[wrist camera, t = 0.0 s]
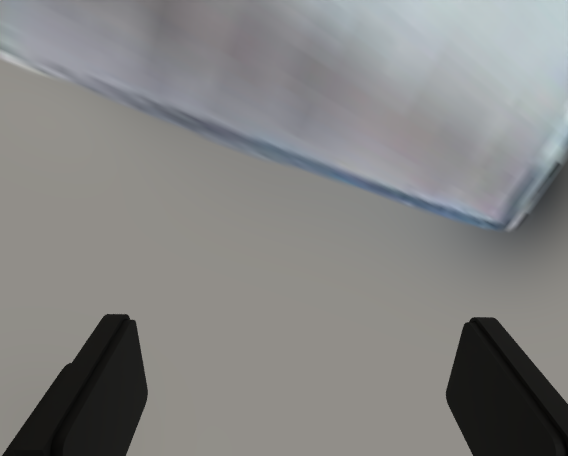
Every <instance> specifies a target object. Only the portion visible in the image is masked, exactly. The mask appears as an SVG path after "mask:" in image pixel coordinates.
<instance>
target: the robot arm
mask: <svg viewBox="0 0 568 456" xmlns="http://www.w3.org/2000/svg"><path fill="white" fill-rule="evenodd" d="M147 395H148V390H147V383H146V378H145V372H144V366H143V360H142V355H141V349H140V343H139V337H138V332H137V326H136V322H135V320H130V318H129V316H128V315H126V314H107V315H105V316H104V317H103V318H102V319H101V321H100V322H99V324H98V325H97V327H96V328H95V330H94V331H93V333H92V334H91V336H90V337H89V339H88V340H87V341H86V343H85V344H84V346H83V347H82V349H81V350H80V352H79V353H78V355H77V356H76V358H75V359H74V361H73V362H72V363H69V364H68V365H66V366H65V367H64V368H63V369H62V371H61V372H60V373H59V375H58V376H57V378H56V379H55V381H54V382H53V384H52V385H51V386H50V388H49V389H48V391H47V392H46V393H45V395H44V397H43V398H42V399H41V401H40V402H39V404H38V405H37V406H36V408H35V409H34V411H33V412H32V414H31V415H30V417H29V418H28V419H27V421H26V422H25V424H24V425H23V426H22V428H21V429H20V431H19V432H18V434H17V435H16V436H15V438H14V439H13V441H12V442H11V444H10V445H9V447H8V448H7V450H6V451H5V452H4V454H3V455H2V456H126V453H127V451H128V448H129V446H130V443H131V440H132V438H133V435H134V433H135V430H136V427H137V425H138V422H139V420H140V417H141V415H142V412H143V409H144V407H145V404H146V401H147ZM446 399H447V403H448V405H449V407H450V409H451V411H452V413H453V416H454V418H455V420H456V422H457V424H458V426H459V428H460V430H461V432H462V434H463V436H464V438H465V440H466V442H467V444H468V446H469V448H470V450H471V452H472V454H473V456H568V404H567V403H566V402H565V400H564V399H563V398H562V397H561V396H560V394H559V393H558V392H557V391H556V390H555V388H554V387H553V386H552V385H551V384H550V383H549V381H548V380H547V379H546V378H545V376H544V375H543V374H542V373H541V372H540V371H539V369H538V368H537V367H536V366H535V365H534V363H533V362H532V361H531V360H530V359H529V357H528V356H527V355H526V354H525V353H524V351H523V350H522V349H521V348H520V347H519V346H518V344H517V343H516V342H515V341H514V339H513V338H512V337H511V336H510V335H509V334H508V332H507V331H506V330H505V329H504V328H503V327H502V325H501V324H500V323H499V322H498V320H496V319H495V318H486V317H474V318H472V319H471V320H470V321H469V322H467V323H465V324H464V327H463V330H462V334H461V337H460V341H459V345H458V349H457V352H456V356H455V360H454V364H453V367H452V371H451V375H450V379H449V382H448V386H447V390H446Z"/></svg>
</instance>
